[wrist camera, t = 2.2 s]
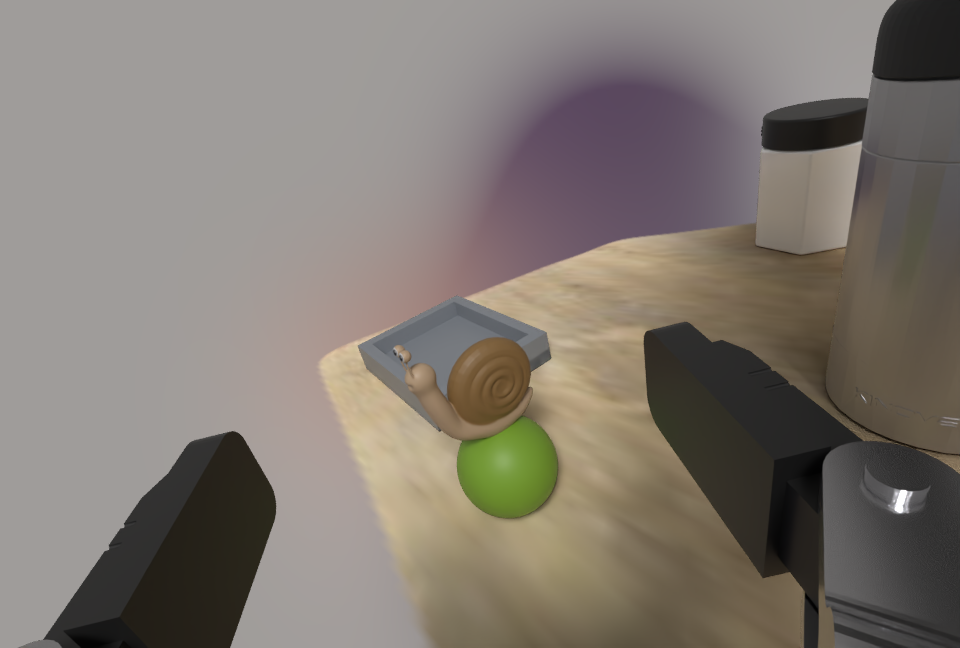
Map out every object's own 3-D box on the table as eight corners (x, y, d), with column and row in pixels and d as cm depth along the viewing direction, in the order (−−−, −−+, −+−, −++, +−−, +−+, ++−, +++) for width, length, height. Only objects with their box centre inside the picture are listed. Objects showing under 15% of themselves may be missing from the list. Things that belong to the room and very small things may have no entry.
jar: (826, 216, 50) (842, 93, 44) (880, 242, 43) (907, 99, 37) (737, 233, 51) (742, 115, 46) (775, 261, 44) (786, 125, 38)
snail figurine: (438, 506, 28) (371, 331, 22) (525, 449, 30) (484, 279, 24) (488, 573, 23) (421, 376, 18) (585, 499, 26) (552, 306, 20)
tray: (462, 317, 48) (456, 295, 47) (551, 358, 38) (546, 332, 37) (366, 368, 43) (357, 345, 42) (439, 431, 33) (429, 403, 32)
